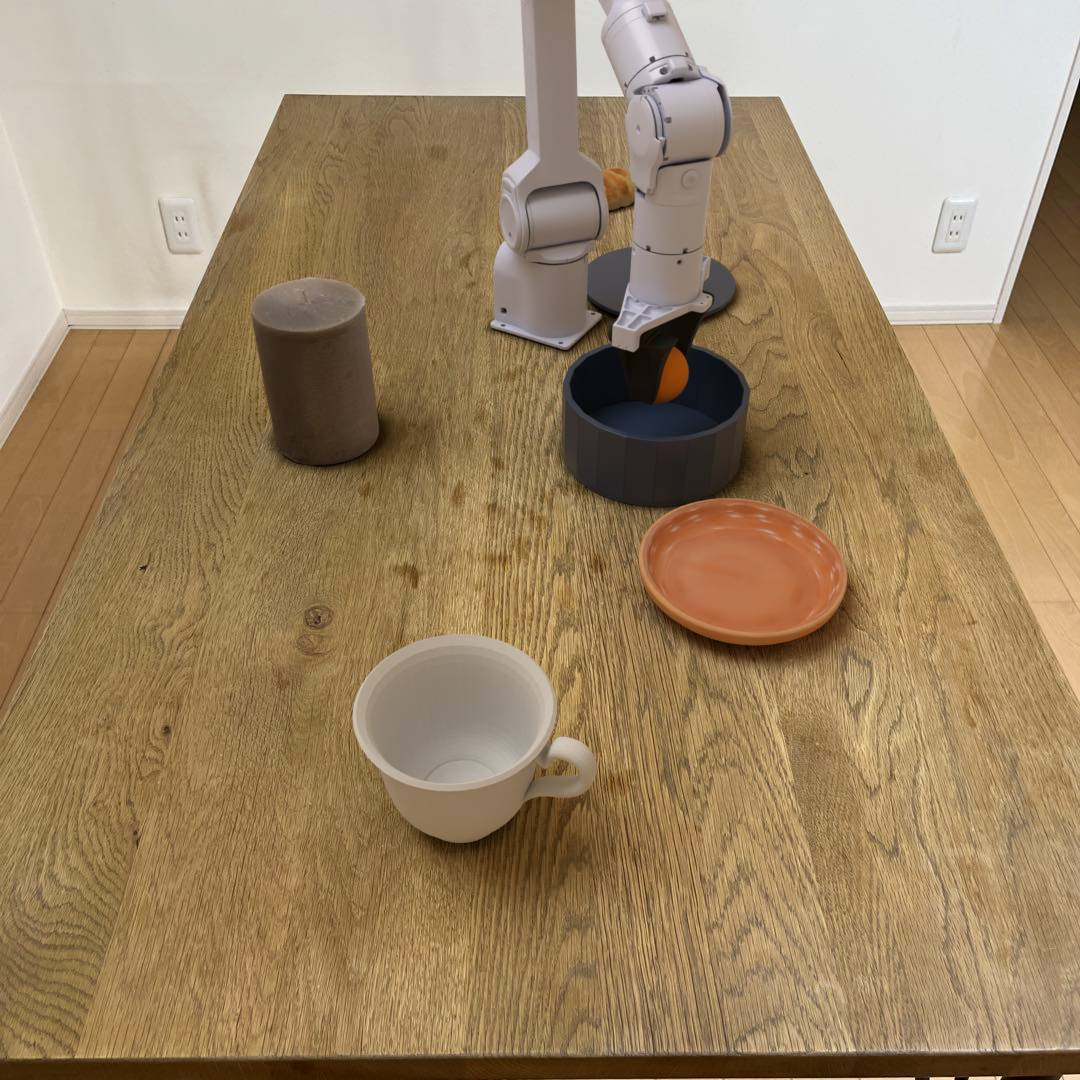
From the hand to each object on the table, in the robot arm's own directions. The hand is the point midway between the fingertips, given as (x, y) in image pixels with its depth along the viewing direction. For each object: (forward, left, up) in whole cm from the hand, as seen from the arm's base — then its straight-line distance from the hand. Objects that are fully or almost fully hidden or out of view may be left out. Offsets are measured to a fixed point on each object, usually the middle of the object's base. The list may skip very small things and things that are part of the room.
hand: (656, 384), depth 97 cm
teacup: (+8, -41, -7) cm, 42 cm away
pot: (0, 0, -7) cm, 7 cm away
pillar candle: (-27, -13, -7) cm, 31 cm away
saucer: (+14, -13, -7) cm, 20 cm away
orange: (0, 0, +1) cm, 1 cm away
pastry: (-29, +45, -7) cm, 54 cm away
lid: (-13, +28, -7) cm, 32 cm away
